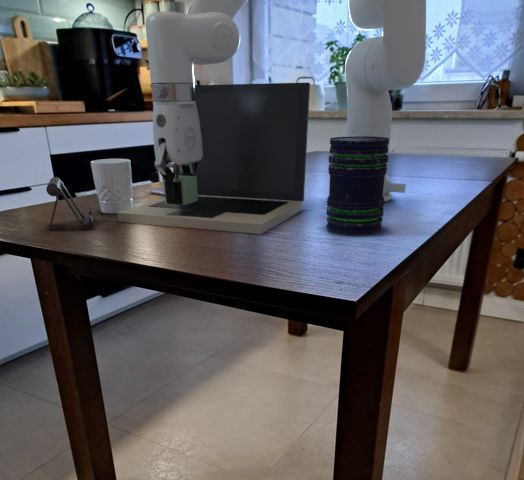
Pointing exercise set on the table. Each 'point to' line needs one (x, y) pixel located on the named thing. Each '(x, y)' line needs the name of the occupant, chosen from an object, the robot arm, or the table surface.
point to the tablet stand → (56, 190)
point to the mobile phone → (157, 190)
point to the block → (187, 189)
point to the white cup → (113, 184)
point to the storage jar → (356, 185)
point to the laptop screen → (253, 140)
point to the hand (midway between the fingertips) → (181, 200)
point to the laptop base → (215, 214)
